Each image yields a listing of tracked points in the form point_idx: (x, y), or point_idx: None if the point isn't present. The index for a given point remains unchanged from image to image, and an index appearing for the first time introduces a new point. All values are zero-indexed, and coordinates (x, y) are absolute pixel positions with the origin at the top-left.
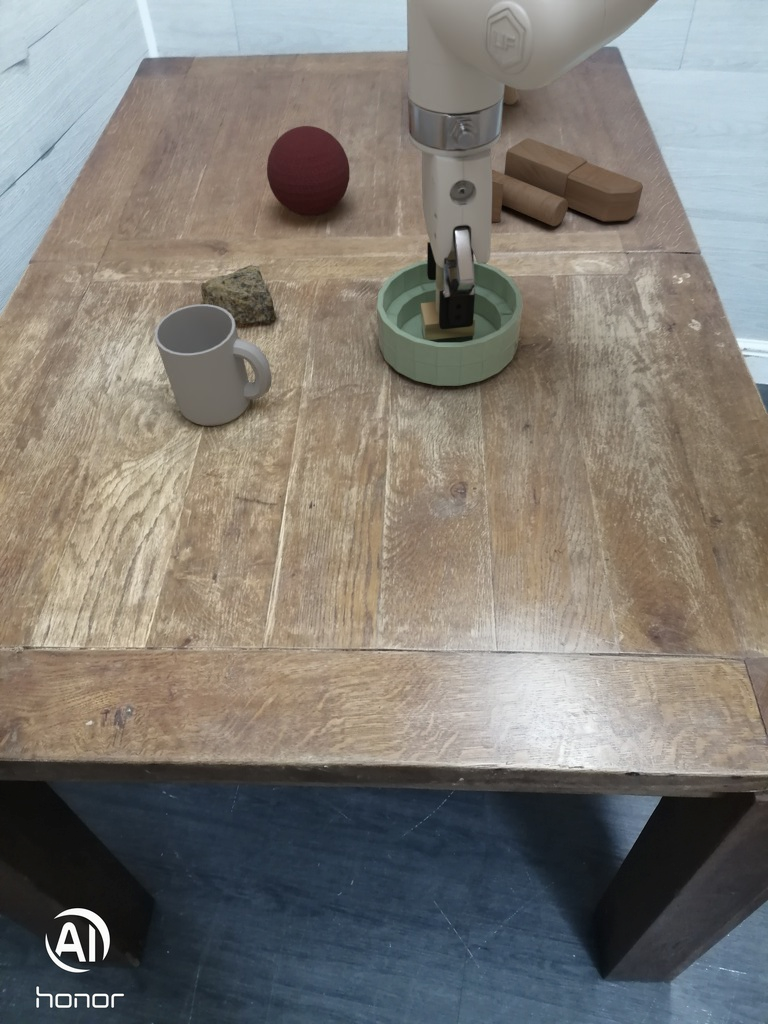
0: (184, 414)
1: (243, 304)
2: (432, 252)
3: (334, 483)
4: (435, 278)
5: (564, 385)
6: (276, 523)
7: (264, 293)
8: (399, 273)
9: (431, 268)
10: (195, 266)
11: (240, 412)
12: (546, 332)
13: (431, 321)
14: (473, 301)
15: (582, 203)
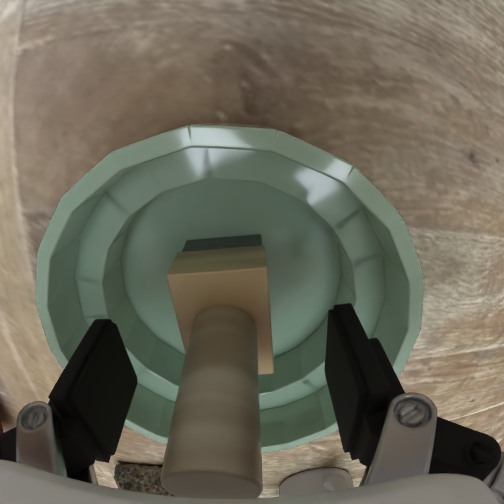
0: None
1: None
2: (115, 441)
3: (461, 391)
4: (133, 372)
5: (386, 51)
6: (473, 416)
7: (175, 496)
8: (127, 422)
9: (129, 403)
10: (105, 485)
11: (343, 472)
12: (199, 50)
13: (264, 363)
14: (375, 359)
15: None
